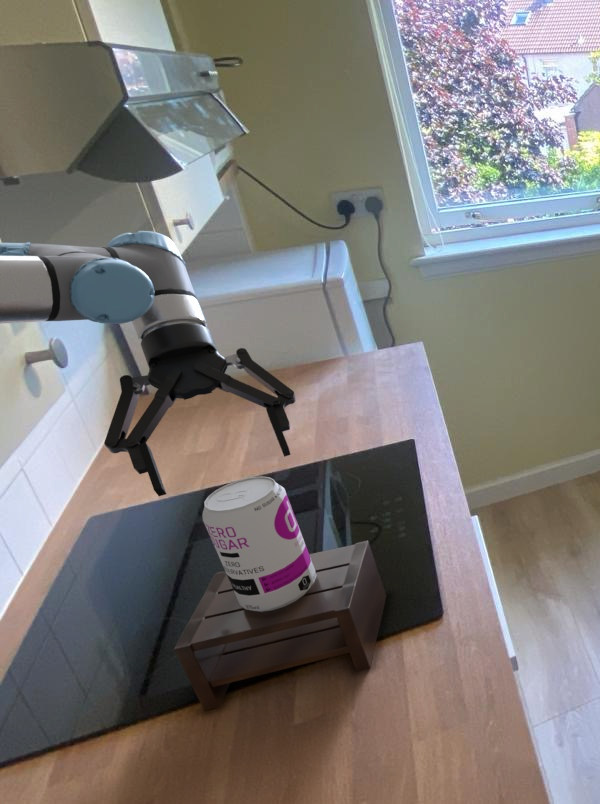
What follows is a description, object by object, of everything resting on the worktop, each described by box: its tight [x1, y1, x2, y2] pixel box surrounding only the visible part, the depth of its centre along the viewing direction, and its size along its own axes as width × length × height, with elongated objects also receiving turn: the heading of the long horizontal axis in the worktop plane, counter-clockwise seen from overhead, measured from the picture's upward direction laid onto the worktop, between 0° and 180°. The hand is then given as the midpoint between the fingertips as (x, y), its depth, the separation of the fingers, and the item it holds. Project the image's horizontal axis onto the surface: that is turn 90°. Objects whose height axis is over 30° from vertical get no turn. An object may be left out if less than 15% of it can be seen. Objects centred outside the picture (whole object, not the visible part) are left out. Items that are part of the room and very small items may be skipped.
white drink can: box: [201, 476, 317, 612], centre depth 90 cm, size 8×8×15 cm
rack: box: [173, 540, 387, 712], centre depth 95 cm, size 18×14×10 cm
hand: (226, 471), depth 96 cm, fingers open, 13 cm apart
